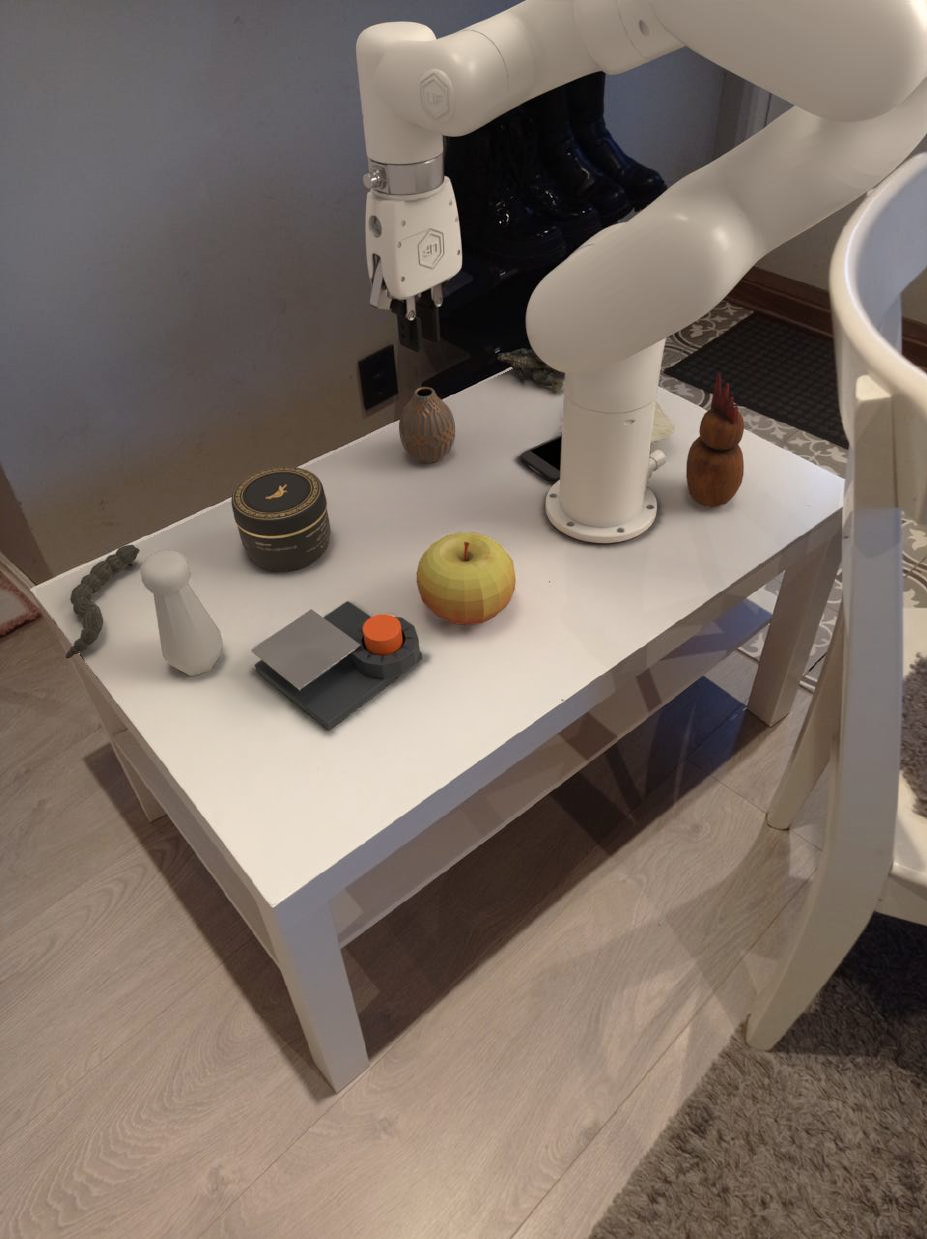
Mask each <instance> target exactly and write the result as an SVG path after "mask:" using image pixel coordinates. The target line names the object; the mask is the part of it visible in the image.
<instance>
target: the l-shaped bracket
mask: <svg viewBox="0 0 927 1239" xmlns="http://www.w3.org/2000/svg"><path fill="white" fill-rule="evenodd" d="M393 616H394V615H393ZM322 617H323V618H324V619H326V620H327V621H329V622H330V623H331V624H333V625H334V626H335V627H337V628H338V629H340V630H341V631H342V632H344V633H345V634H346V635H348V636H349V637H351V638H352V639H353V640H355V641H356V642H357V643H359V644H360V645H361V648H359V649H358V650H357V651H355V652H354V653H352V654H351V655H350V656H348V657H347V658H345V659H344V660H343V661H341V662H340V663H339V664H337V665H336V666H334V667H333V668H332V669H330V670H329V671H328V672H326V673H325V674H323V675H322V676H321V677H319V678H318V679H316V680H315V681H314V682H312V683H311V684H310V685H308V686H307V687H305V688H304V689H303V690H301V691H300V690H299V689H297V688H296V687H295V686H294V685H292V684H291V683H290V682H289V681H287V680H286V679H285V678H284V677H282V676H281V675H280V674H279V673H278V672H276V671H275V670H274V669H273V668H271V667H270V666H269V665H268V664H266V663H265V662H264V661H263V660H261V659H260V660H259V661H257V662H256V663H254V668H255V672H256V673H258V674H259V675H260V676H262V677H263V678H264V679H265V680H266V681H267V682H269V683H270V684H271V685H272V686H274V687H275V688H276V689H277V690H279V691H280V692H281V693H282V694H284V695H285V696H286V697H287V698H288V699H290V701H292V702H293V703H295V705H296V706H298V707H299V708H300V709H301V710H303V711H304V712H305V713H306V714H308V715H309V716H310V717H311V718H313V719H314V720H315V721H316V722H317V723H319V724H320V725H321V726H322V727H324V728H325V729H326V730H327V731H330V730H332V729H333V728H334V727H336V725H338V724H339V723H341V722H342V721H343V720H345V719H346V718H347V717H349V716H350V715H351V714H353V713H354V712H355V711H356V710H358V709H359V708H360V707H362V706H363V705H365V703H367V702H368V701H369V700H371V699H372V698H373V697H375V696H376V695H377V694H379V693H380V692H381V691H382V690H384V689H385V688H387V687H388V686H389V685H391V683H393V682H394V681H396V680H397V679H398V678H399V677H401V676H402V675H404V674H405V673H407V672H408V671H409V670H410V669H412V668H413V667H414V666H415V665H417V664H418V663H419V662H420V661H422V660H423V652H422V651H421V649H420V639H419V635H418V632H417V630H416V627H415V625H414V624H413V623H411V622H409V621H408V620H407V619H405V618H403V617H400V616H394V617H396V618H397V619H398V620H399V622H400V624H401V631H402V639H403V642H402V645H401V647H400V648H399V649H398V650H397V651H396V652H394V653H392V654H388V655H384V656H380V655H375V654H372V653H370V652H369V651H368V650H367V648H366V646H365V641H364V635H363V625H364V623H365V622H366V621H367V620H368V619H369V618H371V617H372V616H370V615H369V614H368V613H366V612H365V611H363V610H361V609H360V608H359V607H357V606H356V605H354V604H353V603H352V602H350V601H349V600H347V601H345V602H343V604H341V605H339V606H338V607H336V608H335V609H334V610H332V611H330V612H329V613H328V614H326V615H325V616H322Z"/></svg>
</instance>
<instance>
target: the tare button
mask: <svg viewBox="0 0 927 1239" xmlns="http://www.w3.org/2000/svg"><path fill="white" fill-rule="evenodd" d="M370 617H371V618H369V619H368V620H367V621H366V622H365V623H364V625H363V635H364V641H365V646H366V648H367V650H368V651H369V652H370V653H372V654H375V655H380V656H384V655H388V654H392V653H394V652H396V651H397V650H398V649H399V648H400V647H401V645H402V642H403V639H402V631H401V624H400V622H399V620H398V619H397V618H396V617H397V616H395V617H394V615H391V614H387V613H380V614H376V615H373V616H370Z"/></svg>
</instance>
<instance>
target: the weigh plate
mask: <svg viewBox="0 0 927 1239" xmlns="http://www.w3.org/2000/svg"><path fill="white" fill-rule="evenodd" d="M323 617H324V616H322V615H320V614H319V613H317V612H316V611H315V610H314V609H312V608H311V609H309V610H308V611H306V612H305V613H304V614H302V615H300V616H299V617H297V618H296V619H295V620H293V621H291V622H290V623H288V624H287V625H285V626H284V627H282V628H281V629H280V630H278V631H277V632H275V633H273V634H272V635H271V636H269V637H267V638H265V640H263V641H262V642H260V643H259V644H257V645H255V646H254V647H253V648H251V649H250V650H251V652H252V654H254V655H255V656H256V657H258V658H259V659H260V660H263V661H264V662H265V663H266V664H268V665H269V666H270V667H271V668H273V669H274V670H275V671H276V672H278V673H279V674H280V675H281V676H282V677H284V678H285V679H286V680H287V681H289V682H290V683H291V684H292V685H294V686H295V687H296V688H297V689H299V690H300V691H301V690H303V689H304V688H305V687H307V686H308V685H310V684H311V683H312V682H314V681H315V680H316V679H318V678H319V677H321V676H322V675H323V674H325V673H326V672H328V671H329V670H330V669H332V668H333V667H334V666H336V665H337V664H339V663H340V662H341V661H343V660H344V659H345V658H347V657H348V656H350V655H351V654H352V653H354V652H355V651H357V650H358V649H359V648H361V645H360V644H359V643H357V642H356V641H355V640H353V639H352V638H351V637H349V636H348V635H346V634H345V633H344V632H342V631H341V630H340V629H338V628H337V627H335V626H334V625H333V624H331V623H330V622H329V621H327V620H326V619H324V618H323Z"/></svg>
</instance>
